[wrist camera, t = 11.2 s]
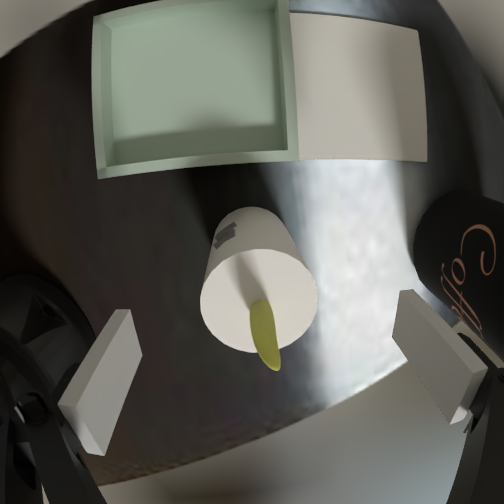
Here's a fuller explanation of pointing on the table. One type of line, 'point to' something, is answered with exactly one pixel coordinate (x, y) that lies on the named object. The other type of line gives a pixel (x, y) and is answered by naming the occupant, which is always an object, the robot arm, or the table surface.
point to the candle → (257, 285)
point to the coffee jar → (465, 261)
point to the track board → (358, 89)
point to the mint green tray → (193, 85)
